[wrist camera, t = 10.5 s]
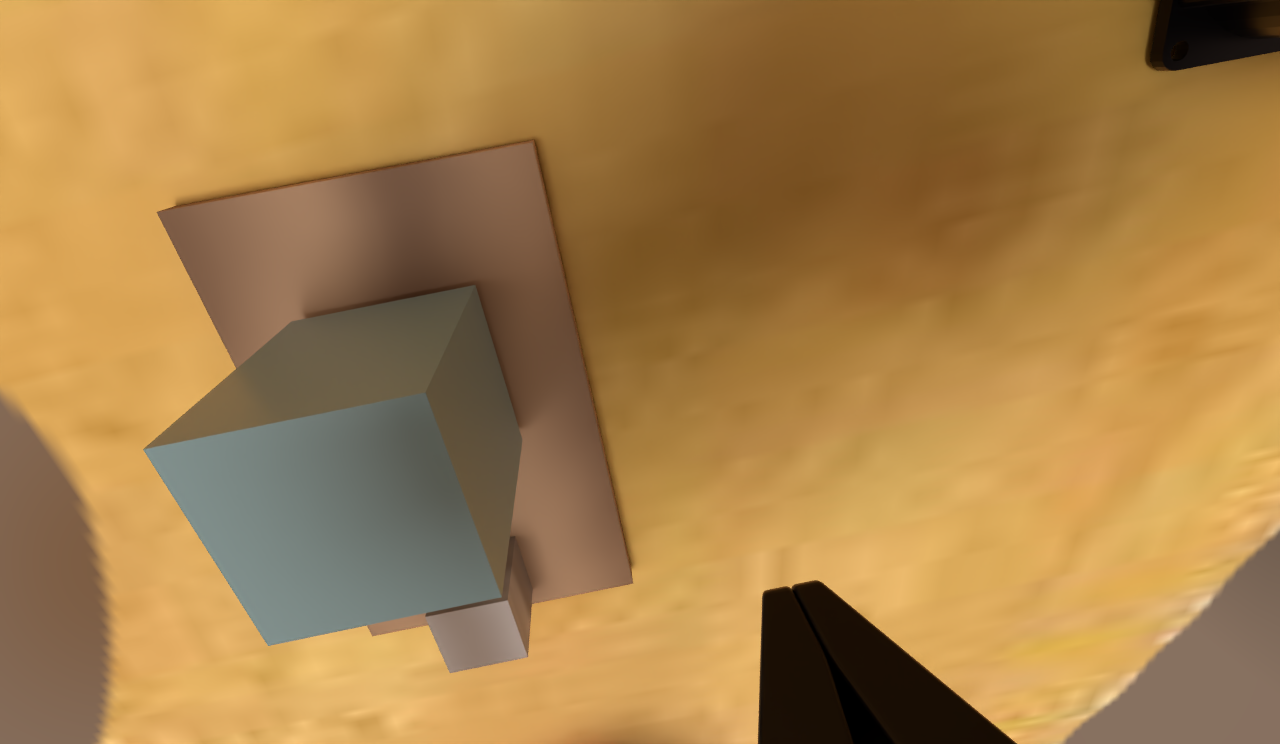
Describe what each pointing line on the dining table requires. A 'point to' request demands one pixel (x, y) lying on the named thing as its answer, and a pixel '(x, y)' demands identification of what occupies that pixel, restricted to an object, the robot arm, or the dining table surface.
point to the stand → (419, 265)
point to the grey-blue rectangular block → (354, 467)
